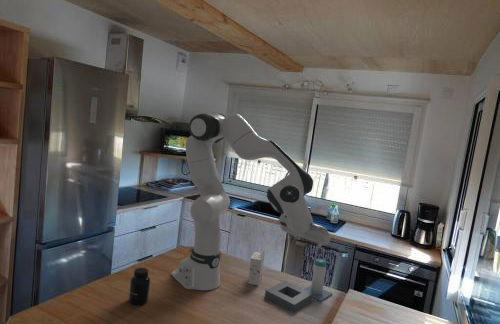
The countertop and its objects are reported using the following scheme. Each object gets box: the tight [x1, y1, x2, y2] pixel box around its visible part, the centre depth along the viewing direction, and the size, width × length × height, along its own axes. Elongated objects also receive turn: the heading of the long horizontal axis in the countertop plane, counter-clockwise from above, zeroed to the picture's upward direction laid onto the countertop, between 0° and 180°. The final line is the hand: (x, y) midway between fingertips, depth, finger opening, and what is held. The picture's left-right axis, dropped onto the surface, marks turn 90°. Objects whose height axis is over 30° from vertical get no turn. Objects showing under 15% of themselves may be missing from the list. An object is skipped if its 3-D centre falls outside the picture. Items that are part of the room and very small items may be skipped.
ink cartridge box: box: [248, 247, 266, 286], centre depth 152 cm, size 9×5×15 cm, turn 168°
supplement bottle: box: [128, 267, 151, 306], centre depth 124 cm, size 7×7×12 cm
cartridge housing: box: [264, 280, 314, 313], centre depth 140 cm, size 14×14×3 cm
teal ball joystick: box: [310, 258, 328, 295], centre depth 146 cm, size 5×5×14 cm
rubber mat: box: [303, 285, 333, 303], centre depth 147 cm, size 10×10×1 cm
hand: (309, 242), depth 136 cm, fingers open, 8 cm apart
